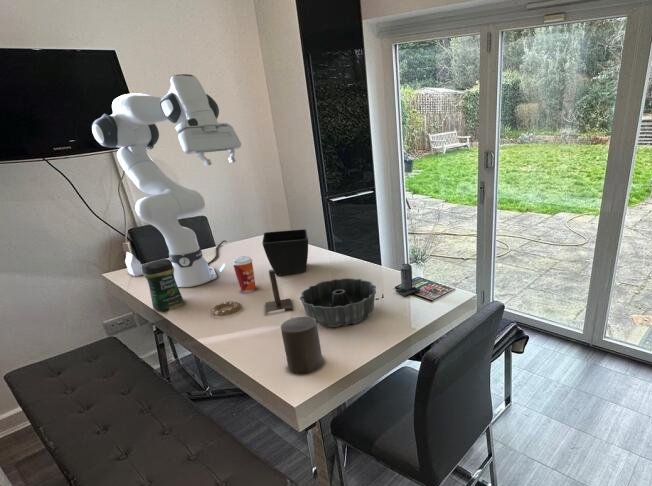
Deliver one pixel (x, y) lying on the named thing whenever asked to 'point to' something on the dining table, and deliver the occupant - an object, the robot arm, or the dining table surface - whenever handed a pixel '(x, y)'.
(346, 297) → the bundt pan
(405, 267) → the grey tower model
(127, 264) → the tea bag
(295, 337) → the pillar candle
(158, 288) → the coffee jar
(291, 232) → the flower pot
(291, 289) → the dining table surface
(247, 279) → the paper cup
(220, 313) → the ring
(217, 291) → the dining table surface
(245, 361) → the dining table surface
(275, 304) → the post
